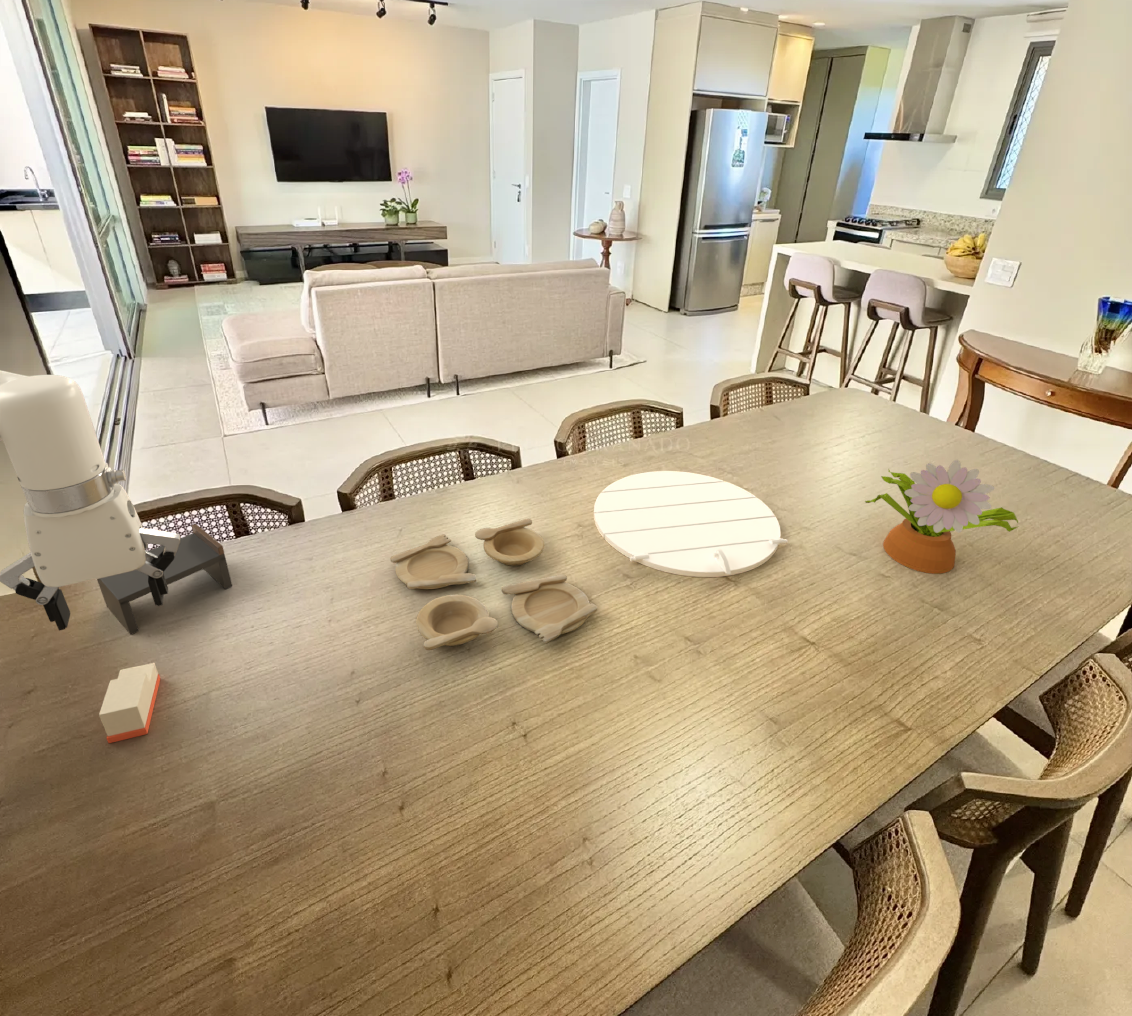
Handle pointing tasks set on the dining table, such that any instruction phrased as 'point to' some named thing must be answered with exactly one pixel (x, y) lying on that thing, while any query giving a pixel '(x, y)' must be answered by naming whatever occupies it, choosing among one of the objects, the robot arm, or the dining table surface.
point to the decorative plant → (938, 515)
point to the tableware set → (533, 606)
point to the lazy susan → (687, 524)
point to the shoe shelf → (166, 574)
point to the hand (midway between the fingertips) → (113, 610)
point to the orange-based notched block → (130, 702)
